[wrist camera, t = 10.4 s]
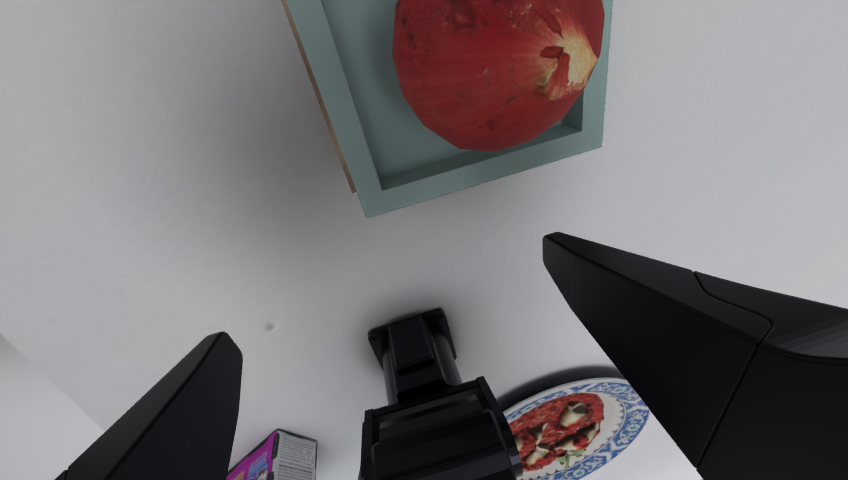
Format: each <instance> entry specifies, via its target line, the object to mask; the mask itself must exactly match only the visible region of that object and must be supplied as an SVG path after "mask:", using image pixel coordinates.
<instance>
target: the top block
mask: <svg viewBox="0 0 848 480" xmlns="http://www.w3.org/2000/svg"><path fill="white" fill-rule="evenodd" d="M286 2H287V4H288V7H289V10H290V13H291V15H292V18H293V21H294V23H295V26H296V29H297V32H298V34H299V37H300V40H301V42H302V45H303V48H304V50H305V53H306V56H307V59H308V61H309V64H310V67H311V69H312V72H313V75H314V78H315V80H316V83H317V86H318V88H319V91H320V94H321V97H322V99H323V102H324V105H325V107H326V110H327V113H328V115H329V118H330V121H331V124H332V126H333V129H334V132H335V134H336V137H337V140H338V143H339V145H340V148H341V151H342V153H343V156H344V159H345V161H346V164H347V167H348V170H349V172H350V175H351V178H352V180H353V183H354V186H355V189H356V191H357V194H358V197H359V199H360V202H361V205H362V207H363V210H364V213H365V216H366V218H370V217H373V216H376V215H380V214H383V213H386V212H389V211H393V210H396V209H399V208H403V207H406V206H409V205H412V204H416V203H419V202H422V201H426V200H429V199H432V198H435V197H439V196H442V195H445V194H449V193H452V192H455V191H459V190H462V189H465V188H468V187H472V186H475V185H478V184H482V183H485V182H488V181H491V180H495V179H498V178H501V177H505V176H508V175H511V174H514V173H518V172H521V171H524V170H528V169H531V168H534V167H537V166H541V165H544V164H547V163H551V162H554V161H557V160H561V159H564V158H567V157H570V156H574V155H577V154H580V153H584V152H587V151H590V150H593V149H597V148H600V147H602V136H603V123H604V110H605V97H606V84H607V71H608V57H609V44H610V31H611V18H612V5H613V0H602V2H603V7H604V12H605V20H604V29H603V38H602V46H601V54H600V56H599V58H598V61H597V63H596V65H595V67H594V69H593V72H592V74H591V76H590V78H589V80H588V83H587V85H586V87H585V88H584V90H583V91H582V93H581V94H580V95H579V97H578V98H577V100H576V101H575V102H574V104H573V105H572V106H571V108H570V109H569V111H568V112H567V113H566V115H565V116H564V117H563V118H562V119H561V120H560V121H558V122H557V123H555V124H554V125H553V126H551V127H550V128H548V129H547V130H546V131H544V132H543V133H541V134H540V135H539V136H537V137H536V138H534V139H533V140H531V141H528V142H525V143H522V144H519V145H516V146H512V147H509V148H506V149H503V150H499V151H494V152H488V151H477V150H466V149H459V148H457V147H455V146H454V145H452V144H450V143H449V142H447V141H446V140H444V139H443V138H441V137H440V136H438V135H437V134H435V133H434V132H432V131H431V130H429V129H428V128H426V127H425V126H424V125H423V124H422V122H421V121H420V120H419V118H418V117H417V115H416V114H415V112H414V111H413V110H412V108H411V107H410V105H409V104H408V103H407V101H406V100H405V98H404V97H403V95H402V91H401V87H400V83H399V80H398V76H397V72H396V68H395V64H394V61H393V57H392V50H393V35H394V21H395V6H396V4H397V2H398V0H286Z"/></svg>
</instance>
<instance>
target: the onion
mask: <svg viewBox="0 0 848 480" xmlns="http://www.w3.org/2000/svg"><path fill="white" fill-rule="evenodd" d="M604 20H605V12H604V7H603V2H602V0H398V2H397V4H396V6H395V21H394V35H393V50H392V57H393V61H394V64H395V68H396V72H397V76H398V80H399V83H400V87H401V91H402V95H403V97H404V98H405V100H406V101H407V103H408V104H409V105H410V107H411V108H412V110H413V111H414V112H415V114H416V115H417V117H418V118H419V120H420V121H421V122H422V124H423V125H424V126H425V127H426V128H428V129H429V130H431V131H432V132H434V133H435V134H437V135H438V136H440V137H441V138H443V139H444V140H446V141H447V142H449V143H450V144H452V145H454V146H455V147H457V148H459V149H466V150H477V151H488V152H494V151H499V150H503V149H506V148H509V147H512V146H516V145H519V144H522V143H525V142H528V141H531V140H533V139H534V138H536V137H537V136H539V135H540V134H541V133H543V132H544V131H546V130H547V129H548V128H550V127H551V126H553V125H554V124H555V123H557V122H558V121H560V120H561V119H562V118H563V117H564V116H565V115H566V113H567V112H568V111H569V109H570V108H571V106H572V105H573V104H574V102H575V101H576V100H577V98H578V97H579V95H580V94H581V93H582V91H583V90H584V88H585V87H586V85H587V83H588V80H589V78H590V76H591V74H592V72H593V69H594V67H595V65H596V63H597V61H598V58H599V56H600V54H601V46H602V38H603V29H604Z"/></svg>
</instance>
